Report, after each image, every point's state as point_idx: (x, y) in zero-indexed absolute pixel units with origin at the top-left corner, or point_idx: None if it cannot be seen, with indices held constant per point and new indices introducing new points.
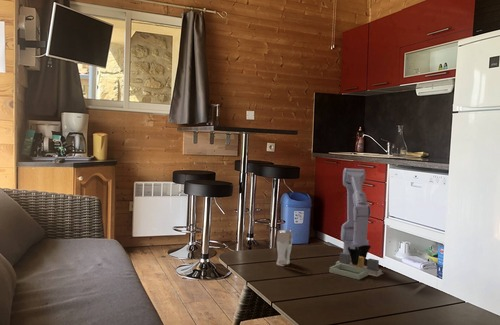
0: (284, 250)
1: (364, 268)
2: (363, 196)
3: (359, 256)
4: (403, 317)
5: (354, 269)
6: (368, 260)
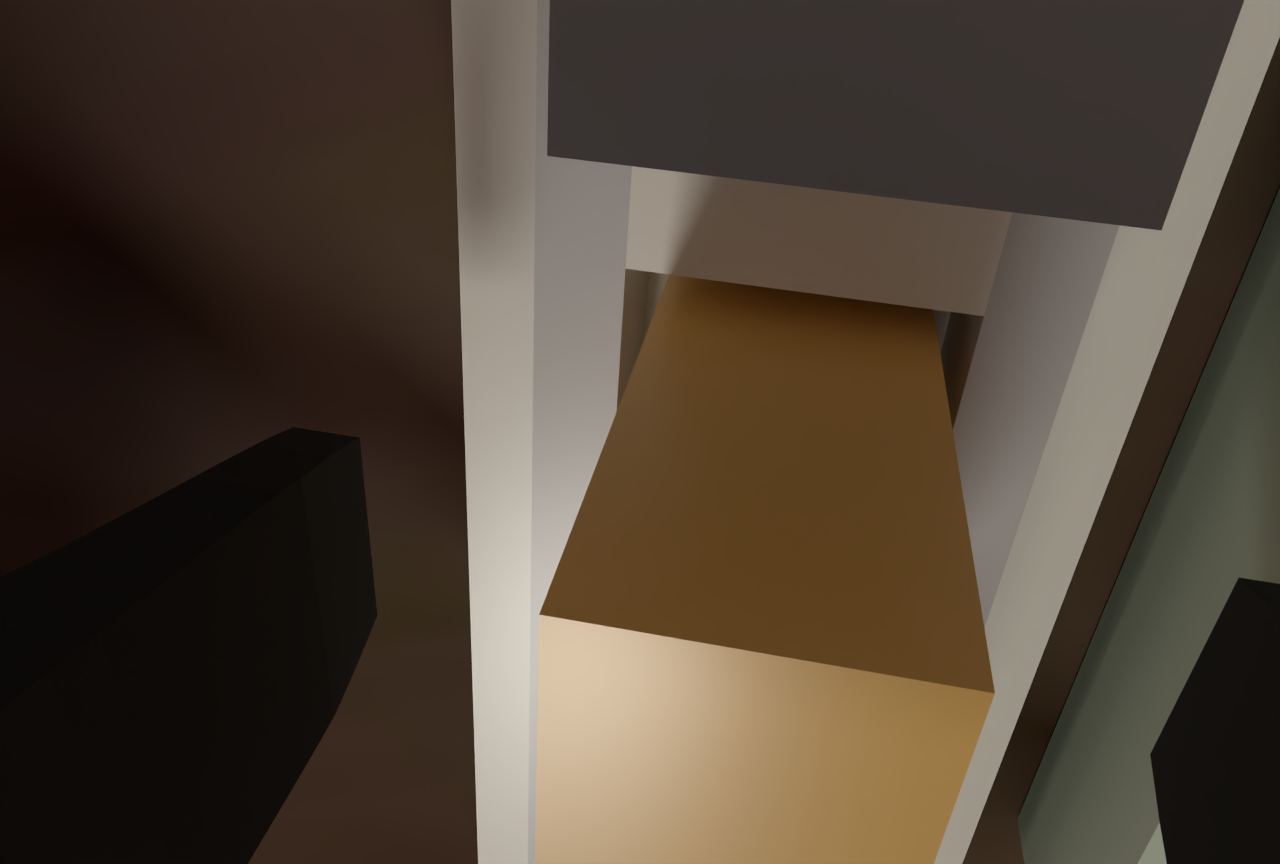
0: None
1: None
2: None
3: (622, 862)
4: None
5: None
6: (1174, 87)
